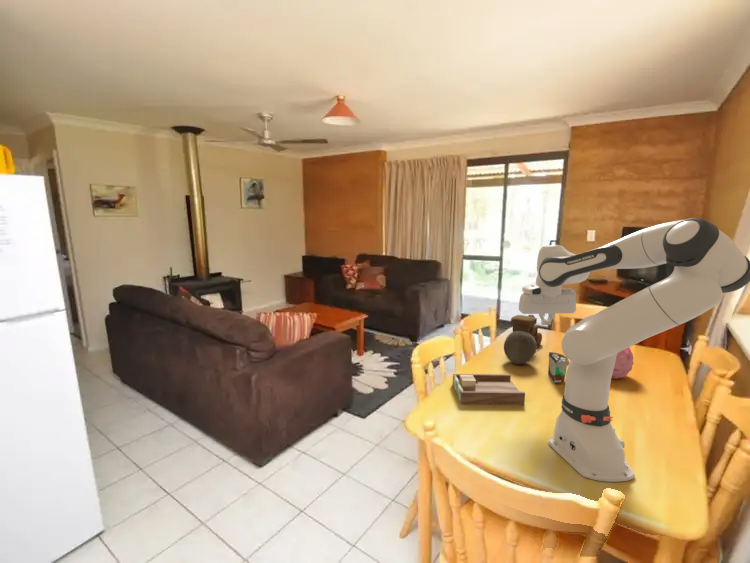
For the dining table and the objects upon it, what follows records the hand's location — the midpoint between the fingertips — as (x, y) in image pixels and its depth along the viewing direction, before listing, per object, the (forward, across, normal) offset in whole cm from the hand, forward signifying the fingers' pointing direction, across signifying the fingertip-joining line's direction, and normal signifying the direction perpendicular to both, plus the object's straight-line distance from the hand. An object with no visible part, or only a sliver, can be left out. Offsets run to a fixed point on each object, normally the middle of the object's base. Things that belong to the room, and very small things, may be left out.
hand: (546, 324), depth 136 cm
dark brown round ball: (+27, -3, -30) cm, 41 cm away
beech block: (+25, +29, 0) cm, 38 cm away
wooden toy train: (+27, -16, -52) cm, 61 cm away
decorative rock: (+28, -38, -16) cm, 50 cm away
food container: (+28, -13, -11) cm, 33 cm away
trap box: (+27, +21, +1) cm, 34 cm away
